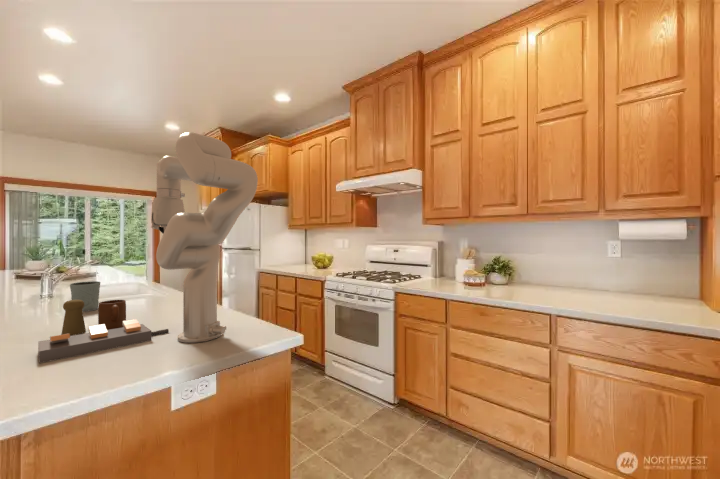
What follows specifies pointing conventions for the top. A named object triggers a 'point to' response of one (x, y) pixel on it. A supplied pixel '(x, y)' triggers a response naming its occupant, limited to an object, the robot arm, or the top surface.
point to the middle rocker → (98, 331)
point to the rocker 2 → (131, 325)
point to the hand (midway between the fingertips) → (168, 245)
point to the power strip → (93, 343)
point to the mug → (112, 313)
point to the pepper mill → (73, 318)
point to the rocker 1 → (59, 338)
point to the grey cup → (86, 294)
